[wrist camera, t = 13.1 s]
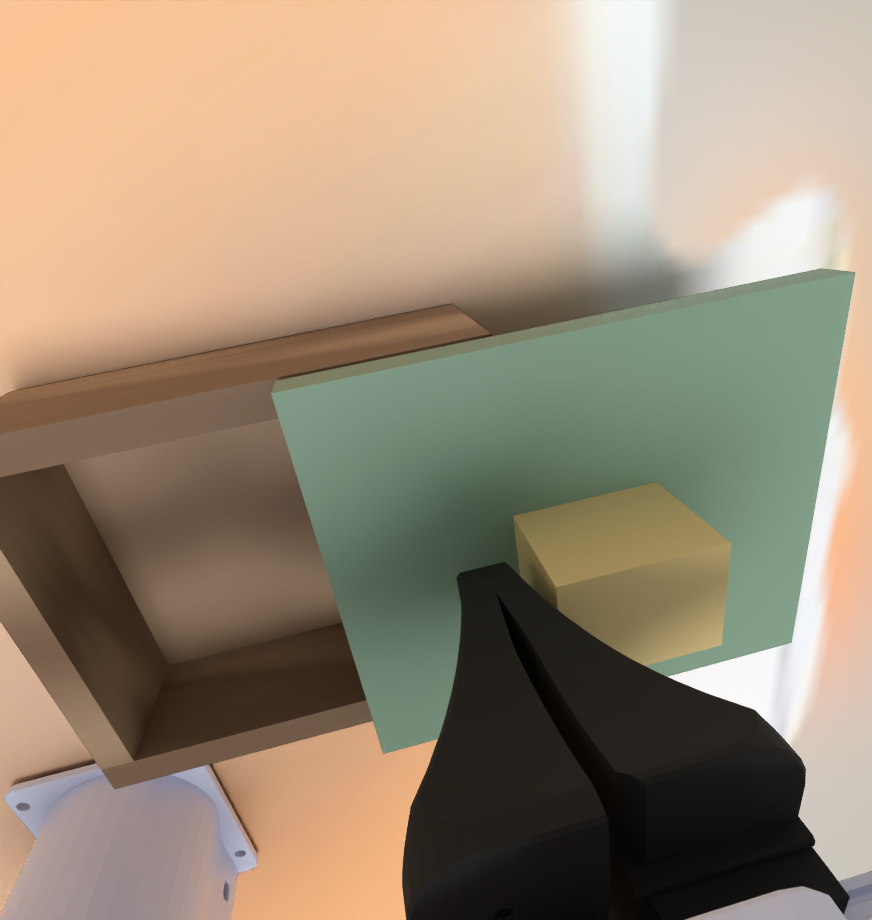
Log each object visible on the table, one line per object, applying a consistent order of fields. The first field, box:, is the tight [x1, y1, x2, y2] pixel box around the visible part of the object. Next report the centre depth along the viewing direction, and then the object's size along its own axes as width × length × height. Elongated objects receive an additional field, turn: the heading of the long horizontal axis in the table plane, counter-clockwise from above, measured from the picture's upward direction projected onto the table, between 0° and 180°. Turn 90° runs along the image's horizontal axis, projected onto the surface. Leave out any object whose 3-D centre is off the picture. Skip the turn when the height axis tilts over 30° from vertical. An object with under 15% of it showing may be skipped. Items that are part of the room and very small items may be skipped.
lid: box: [271, 269, 855, 754], centre depth 14 cm, size 12×14×4 cm
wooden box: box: [0, 304, 492, 790], centre depth 17 cm, size 12×14×5 cm
